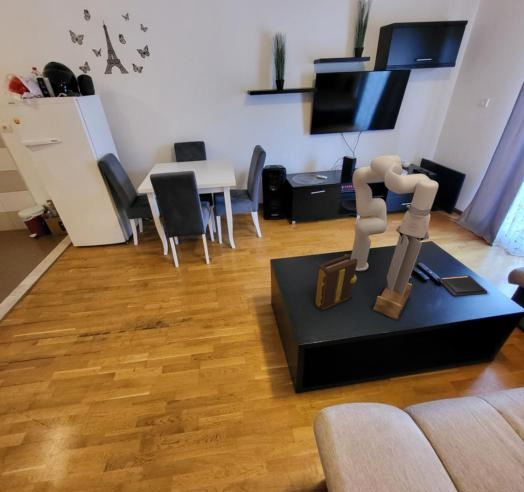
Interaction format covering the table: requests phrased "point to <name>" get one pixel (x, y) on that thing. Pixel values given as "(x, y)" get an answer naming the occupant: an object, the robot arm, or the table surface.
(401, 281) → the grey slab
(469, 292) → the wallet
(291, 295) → the table surface
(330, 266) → the book
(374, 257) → the table surface
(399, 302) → the stand
